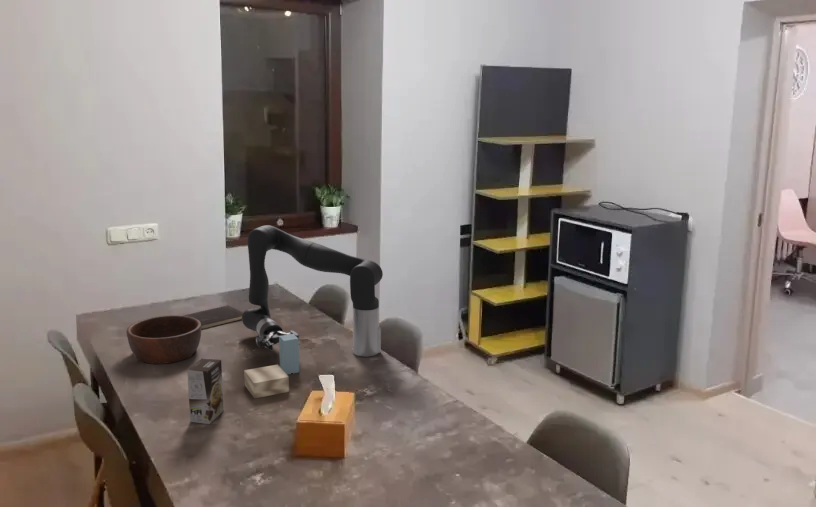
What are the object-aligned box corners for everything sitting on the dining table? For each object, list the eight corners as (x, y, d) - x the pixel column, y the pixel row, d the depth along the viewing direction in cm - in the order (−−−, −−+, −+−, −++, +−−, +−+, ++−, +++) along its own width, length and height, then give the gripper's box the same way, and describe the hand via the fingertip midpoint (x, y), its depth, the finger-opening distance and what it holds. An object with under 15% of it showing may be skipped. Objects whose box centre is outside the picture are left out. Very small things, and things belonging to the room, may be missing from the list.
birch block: (277, 378, 231) (277, 364, 230) (288, 391, 221) (288, 376, 220) (244, 384, 226) (244, 370, 225) (254, 398, 216) (253, 383, 215)
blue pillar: (294, 367, 240) (293, 333, 238) (299, 372, 236) (298, 338, 233) (280, 369, 238) (279, 336, 235) (284, 374, 234) (283, 340, 231)
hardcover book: (247, 319, 289) (247, 314, 288) (195, 332, 274) (194, 326, 273) (227, 310, 300) (227, 304, 300) (176, 321, 285) (176, 316, 284)
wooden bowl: (201, 338, 266) (199, 312, 264) (204, 363, 243) (203, 334, 240) (130, 344, 258) (128, 318, 256) (126, 371, 235) (124, 342, 233)
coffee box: (210, 424, 199) (207, 371, 196) (189, 422, 201) (186, 369, 197) (224, 410, 208) (222, 359, 204) (204, 408, 209) (201, 357, 206)
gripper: (249, 324, 250) (262, 338, 236) (288, 318, 257) (303, 332, 243) (250, 343, 252) (263, 359, 238) (288, 337, 258) (303, 352, 244)
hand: (283, 345), depth 240 cm, fingers open, 8 cm apart
